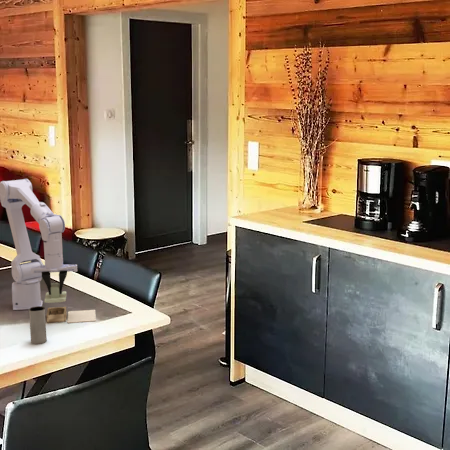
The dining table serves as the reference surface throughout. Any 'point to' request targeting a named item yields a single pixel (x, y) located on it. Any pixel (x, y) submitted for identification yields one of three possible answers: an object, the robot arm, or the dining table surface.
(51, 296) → the lid
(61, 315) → the box
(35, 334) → the cardboard tube
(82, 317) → the mat
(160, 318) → the dining table surface
